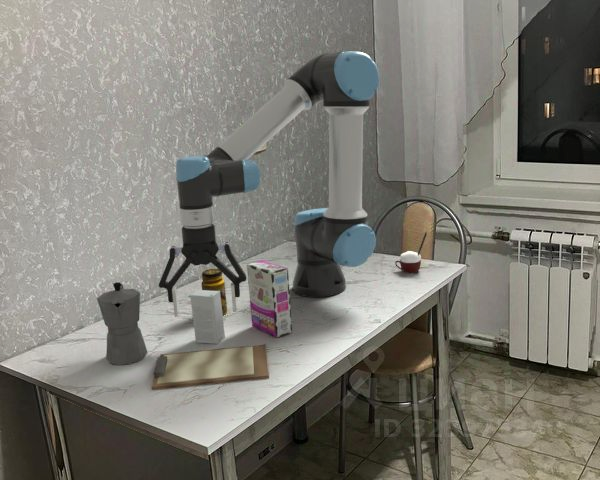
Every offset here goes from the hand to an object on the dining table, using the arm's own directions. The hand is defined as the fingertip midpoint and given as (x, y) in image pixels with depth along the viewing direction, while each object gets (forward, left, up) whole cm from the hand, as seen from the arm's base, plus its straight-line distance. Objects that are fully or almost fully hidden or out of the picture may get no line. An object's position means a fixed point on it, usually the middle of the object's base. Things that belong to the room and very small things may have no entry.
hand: (205, 312), depth 156 cm
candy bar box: (-15, -3, -7) cm, 17 cm away
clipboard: (-1, +15, -7) cm, 17 cm away
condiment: (0, -17, -8) cm, 19 cm away
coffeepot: (+19, +4, -7) cm, 20 cm away
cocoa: (-59, -38, -7) cm, 71 cm away
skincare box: (0, 0, -7) cm, 7 cm away
